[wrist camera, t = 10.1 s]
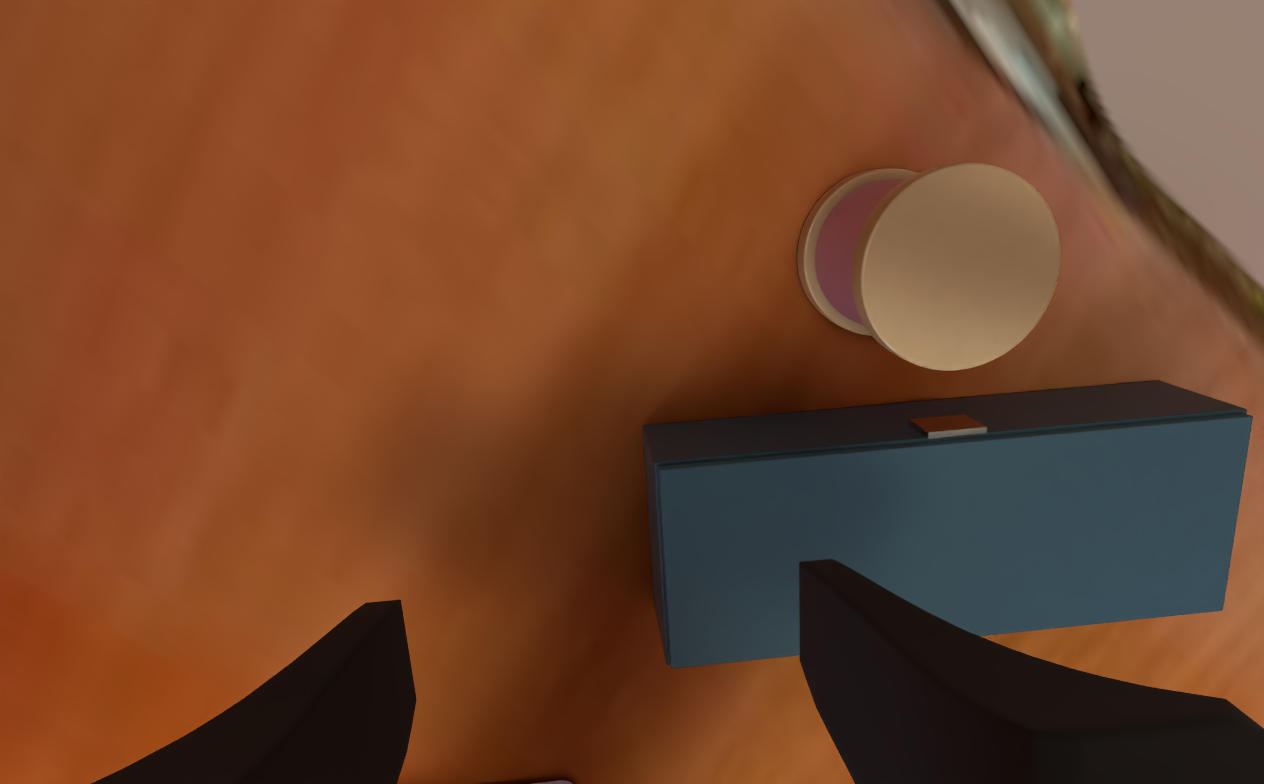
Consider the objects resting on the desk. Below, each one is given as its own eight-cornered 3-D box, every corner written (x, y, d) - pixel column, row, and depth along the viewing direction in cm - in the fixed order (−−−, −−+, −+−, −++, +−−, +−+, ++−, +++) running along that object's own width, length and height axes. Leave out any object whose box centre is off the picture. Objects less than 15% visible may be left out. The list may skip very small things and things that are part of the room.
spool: (950, 325, 22) (1054, 363, 18) (796, 337, 22) (859, 379, 17) (957, 163, 21) (1071, 156, 16) (795, 174, 21) (862, 169, 16)
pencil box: (1159, 375, 23) (1258, 406, 20) (1137, 556, 25) (1226, 613, 22) (642, 420, 22) (654, 461, 19) (654, 605, 24) (667, 672, 21)
